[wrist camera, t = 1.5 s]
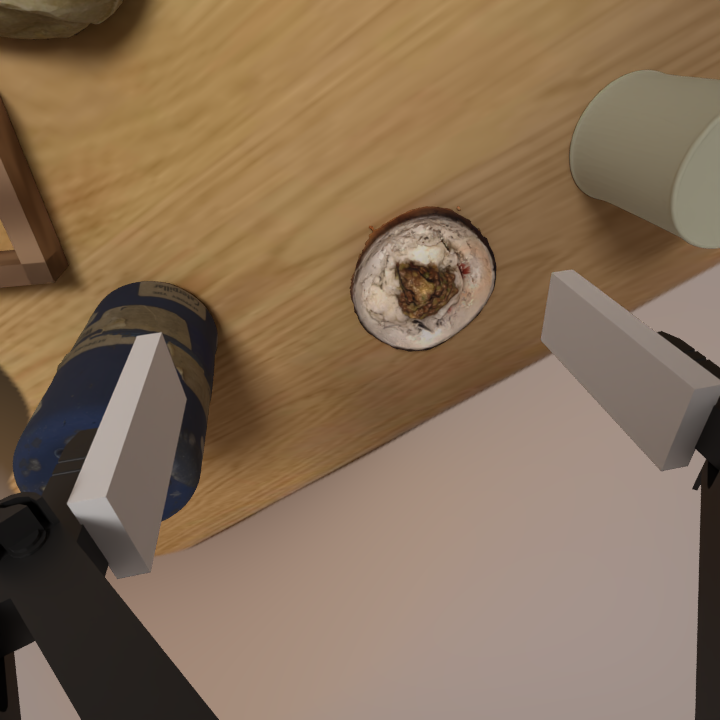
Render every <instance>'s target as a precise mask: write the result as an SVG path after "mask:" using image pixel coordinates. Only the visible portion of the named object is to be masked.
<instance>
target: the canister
mask: <svg viewBox="0 0 720 720" xmlns="http://www.w3.org/2000/svg"><path fill="white" fill-rule="evenodd" d="M160 332H162V334H163V337H164V340H165V342H166V345H167V348H168V350H169V353H170V356H171V358H172V361H173V364H174V366H175V369H176V372H177V374H178V377H179V380H180V382H181V385H182V388H183V390H184V393H185V396H186V398H187V400H186V405H185V409H184V414H183V419H182V424H181V429H180V433H179V438H178V443H177V448H176V453H175V457H174V462H173V467H172V472H171V477H170V481H169V486H168V491H167V496H166V501H165V505H164V510H163V515H162V520H161V521H164V520H166V519H168V518H170V517H171V516H173V515H174V514H176V513H177V512H178V511H179V510H181V509H182V508H183V507H184V506H185V505H186V504H187V502H188V501H189V500H190V499H191V497H192V495H193V494H194V492H195V490H196V488H197V485H198V483H199V479H200V474H201V465H202V459H203V453H204V444H205V436H206V429H207V420H208V412H209V404H210V400H211V394H212V386H213V376H214V362H215V354H216V350H217V345H218V333H217V329H216V325H215V322H214V320H213V318H212V316H211V314H210V313H209V311H208V310H207V309H206V307H205V306H204V305H203V304H202V303H201V302H200V301H199V300H198V299H197V298H195V297H194V296H193V295H191V294H190V293H188V292H187V291H185V290H183V289H181V288H179V287H177V286H174V285H172V284H169V283H163V282H156V281H142V282H136V283H131V284H128V285H125V286H122V287H120V288H118V289H116V290H114V291H113V292H111V293H110V294H109V295H107V296H106V297H105V298H104V299H103V300H102V301H101V303H100V304H99V305H98V307H97V308H96V310H95V311H94V313H93V314H92V316H91V317H90V319H89V321H88V323H87V325H86V326H85V328H84V330H83V331H82V333H81V335H80V336H79V338H78V340H77V341H76V343H75V345H74V346H73V348H72V350H71V351H70V352H69V353H68V354H67V355H66V356H65V357H64V359H63V360H62V362H61V363H60V364H59V365H58V369H57V373H56V375H55V377H54V379H53V381H52V383H51V385H50V386H49V388H48V390H47V391H46V393H45V395H44V396H43V398H42V400H41V401H40V403H39V405H38V407H37V408H36V410H35V412H34V414H33V415H32V417H31V419H30V421H29V423H28V424H27V426H26V428H25V430H24V431H23V433H22V435H21V437H20V439H19V441H18V444H17V446H16V449H15V453H14V457H13V472H14V477H15V480H16V483H17V486H18V488H19V489H20V491H21V492H35V493H37V494H39V495H42V493H43V491H44V489H45V487H46V485H47V483H48V481H49V479H50V477H52V473H53V471H54V468H55V466H56V464H58V460H59V458H60V456H61V454H62V452H63V450H64V448H65V446H66V445H67V444H68V443H69V442H70V440H71V439H72V438H73V437H74V436H75V435H76V434H77V433H78V432H79V431H81V430H87V429H93V428H99V426H100V423H101V421H102V418H103V416H104V414H105V411H106V409H107V407H108V404H109V402H110V399H111V397H112V395H113V392H114V390H115V387H116V385H117V383H118V380H119V378H120V375H121V373H122V371H123V368H124V366H125V364H126V361H127V359H128V356H129V354H130V352H131V349H132V347H133V344H134V342H135V340H136V337H137V336H141V335H147V334H154V333H160Z"/></svg>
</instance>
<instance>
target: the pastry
mask: <svg viewBox="0 0 720 720" xmlns="http://www.w3.org/2000/svg"><path fill="white" fill-rule="evenodd" d="M122 2H123V0H0V36H2V37H9V38H17V39H49V38H69V37H71V36H73V35H75V34H76V35H77V34H78V33H79V31H81V30H84V29H85V28H86V27H88V25H89V24H90V23H92V24H100V23H102V22H103V21H105V20H106V19H107V18H108V17H110V16H111V15H112V14H113V13H114V12H115V11H116V10H117V9H118V7H119V6H120V5H121V3H122Z"/></svg>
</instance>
